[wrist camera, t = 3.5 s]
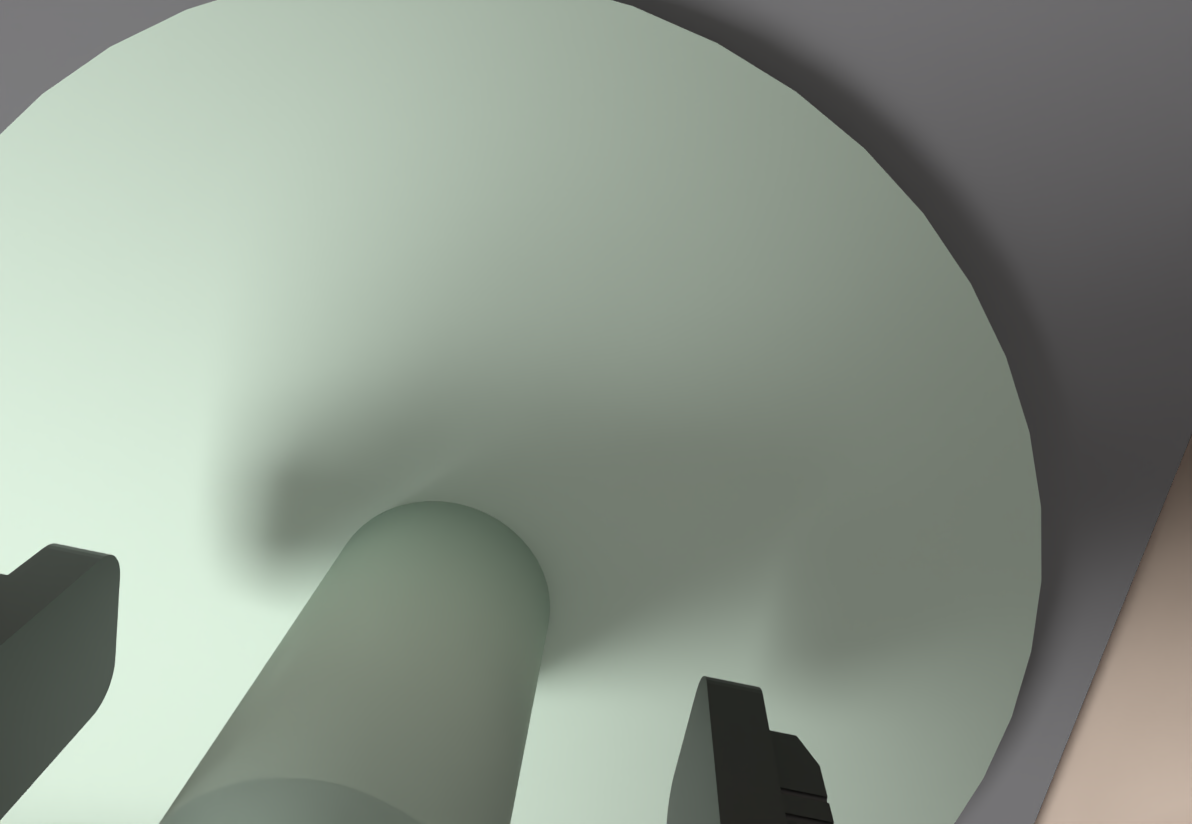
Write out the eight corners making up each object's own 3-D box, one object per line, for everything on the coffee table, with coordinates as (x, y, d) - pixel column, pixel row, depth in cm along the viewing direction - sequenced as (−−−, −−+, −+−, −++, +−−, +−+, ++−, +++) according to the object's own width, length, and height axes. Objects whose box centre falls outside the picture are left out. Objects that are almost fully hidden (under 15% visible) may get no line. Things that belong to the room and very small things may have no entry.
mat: (1337, 26, 13) (1358, 24, 13) (895, 1132, 19) (900, 1153, 19) (-198, -295, 13) (-224, -306, 12) (-144, 925, 19) (-161, 943, 19)
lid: (1193, 121, 13) (1752, 153, 6) (844, 1077, 18) (954, 1640, 12) (-101, -146, 13) (-894, -394, 6) (-82, 897, 18) (-506, 1364, 12)
